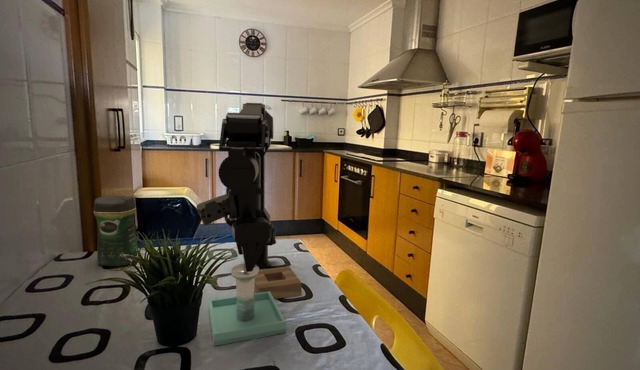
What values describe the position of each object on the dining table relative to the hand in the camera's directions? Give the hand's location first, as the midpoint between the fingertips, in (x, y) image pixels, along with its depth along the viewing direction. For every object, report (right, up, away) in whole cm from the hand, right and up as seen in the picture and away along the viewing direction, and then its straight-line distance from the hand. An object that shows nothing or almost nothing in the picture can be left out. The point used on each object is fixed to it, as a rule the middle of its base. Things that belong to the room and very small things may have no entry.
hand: (245, 262), depth 67 cm
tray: (0, -12, +2) cm, 12 cm away
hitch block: (+4, -10, +16) cm, 19 cm away
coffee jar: (-41, -7, +30) cm, 51 cm away
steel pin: (0, -11, +2) cm, 11 cm away
